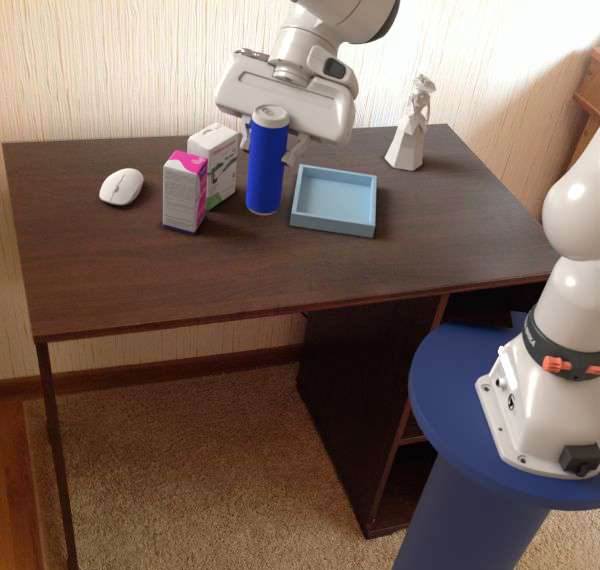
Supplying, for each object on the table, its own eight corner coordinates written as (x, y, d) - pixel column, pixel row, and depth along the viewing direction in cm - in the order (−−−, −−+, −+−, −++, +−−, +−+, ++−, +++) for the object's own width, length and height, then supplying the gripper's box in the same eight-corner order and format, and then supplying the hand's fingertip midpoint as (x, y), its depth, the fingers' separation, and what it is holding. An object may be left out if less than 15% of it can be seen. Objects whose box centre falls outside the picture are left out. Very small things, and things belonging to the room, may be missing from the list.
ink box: (208, 212, 131) (210, 149, 122) (185, 201, 132) (185, 138, 123) (236, 191, 136) (240, 130, 127) (214, 181, 137) (216, 120, 129)
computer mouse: (94, 202, 129) (92, 187, 126) (119, 174, 135) (118, 159, 133) (126, 211, 128) (125, 196, 126) (150, 183, 135) (150, 167, 132)
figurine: (399, 173, 147) (421, 83, 134) (378, 152, 152) (397, 63, 138) (429, 168, 150) (453, 79, 137) (407, 148, 154) (428, 60, 141)
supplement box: (195, 235, 126) (196, 174, 117) (161, 227, 126) (160, 165, 118) (206, 217, 130) (208, 156, 121) (174, 209, 130) (173, 148, 122)
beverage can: (286, 209, 113) (298, 115, 102) (261, 221, 110) (270, 125, 99) (263, 193, 115) (272, 99, 104) (238, 204, 113) (244, 108, 102)
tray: (372, 238, 131) (375, 226, 129) (289, 225, 131) (291, 213, 129) (374, 187, 142) (376, 175, 141) (298, 175, 142) (299, 163, 140)
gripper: (227, 33, 104) (193, 128, 105) (364, 74, 101) (327, 172, 101) (239, 55, 111) (207, 144, 111) (369, 94, 107) (334, 186, 108)
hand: (265, 158), depth 106 cm, fingers closed on beverage can, 5 cm apart
